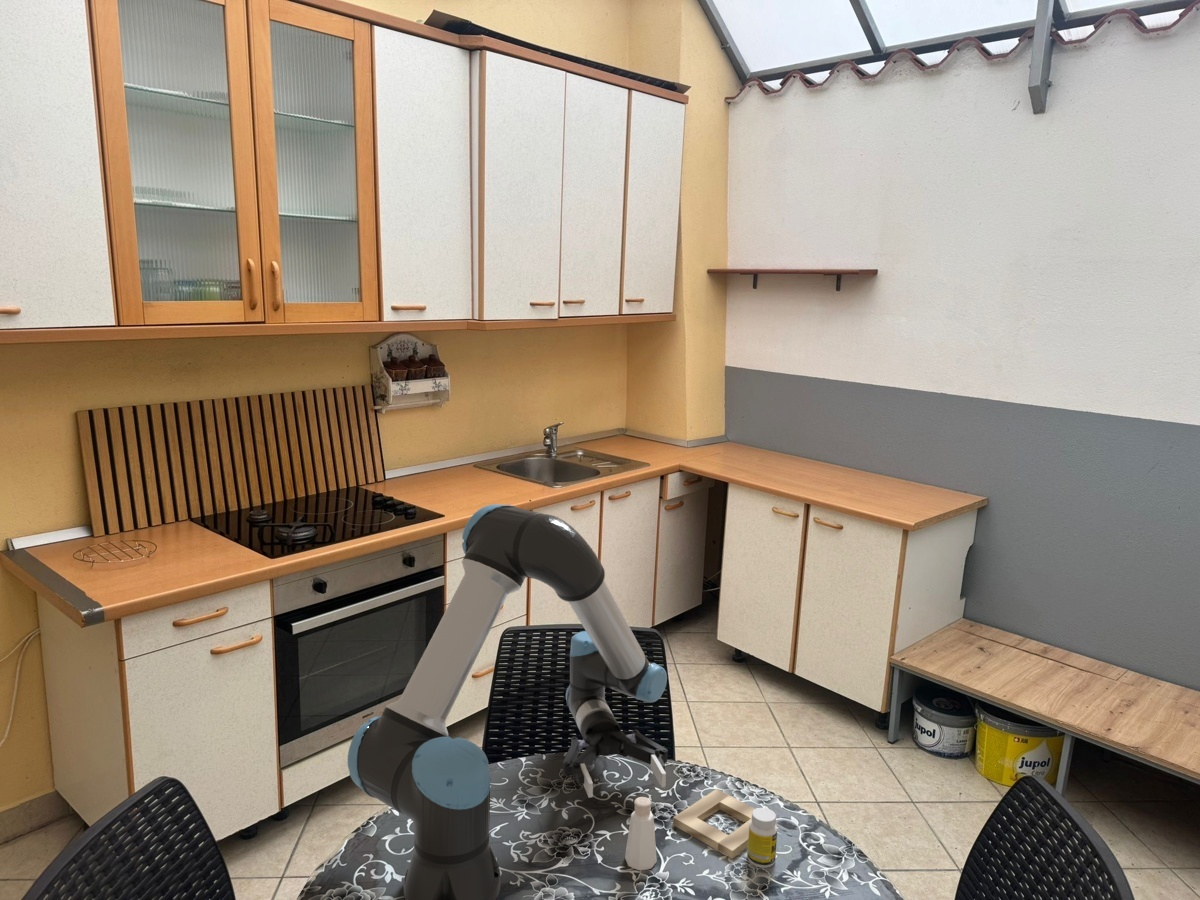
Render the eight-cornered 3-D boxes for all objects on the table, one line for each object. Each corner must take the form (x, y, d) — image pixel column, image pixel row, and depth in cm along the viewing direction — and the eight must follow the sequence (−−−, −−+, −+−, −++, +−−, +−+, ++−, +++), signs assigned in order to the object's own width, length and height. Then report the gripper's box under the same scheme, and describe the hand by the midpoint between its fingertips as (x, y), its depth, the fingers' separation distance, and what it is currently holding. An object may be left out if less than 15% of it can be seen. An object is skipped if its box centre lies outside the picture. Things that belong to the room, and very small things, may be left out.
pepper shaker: (655, 873, 137) (657, 812, 135) (622, 868, 137) (624, 808, 136) (658, 852, 142) (660, 793, 140) (626, 848, 143) (628, 789, 141)
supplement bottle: (775, 870, 138) (778, 824, 136) (746, 866, 139) (749, 820, 137) (775, 852, 142) (778, 808, 141) (747, 848, 143) (750, 804, 142)
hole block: (672, 824, 149) (673, 817, 149) (716, 796, 159) (716, 788, 158) (732, 858, 141) (732, 850, 140) (774, 826, 150) (774, 818, 149)
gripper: (656, 736, 172) (692, 795, 152) (537, 751, 166) (559, 814, 145) (657, 703, 170) (694, 757, 150) (537, 716, 164) (559, 775, 144)
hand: (627, 785), depth 148 cm, fingers open, 13 cm apart
